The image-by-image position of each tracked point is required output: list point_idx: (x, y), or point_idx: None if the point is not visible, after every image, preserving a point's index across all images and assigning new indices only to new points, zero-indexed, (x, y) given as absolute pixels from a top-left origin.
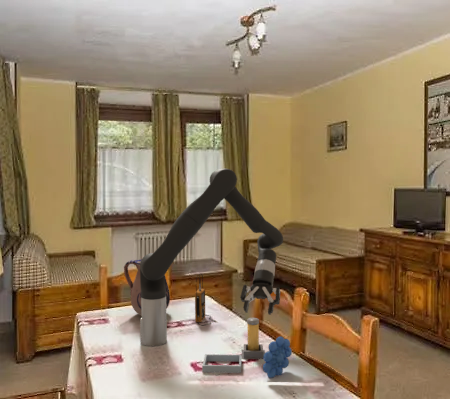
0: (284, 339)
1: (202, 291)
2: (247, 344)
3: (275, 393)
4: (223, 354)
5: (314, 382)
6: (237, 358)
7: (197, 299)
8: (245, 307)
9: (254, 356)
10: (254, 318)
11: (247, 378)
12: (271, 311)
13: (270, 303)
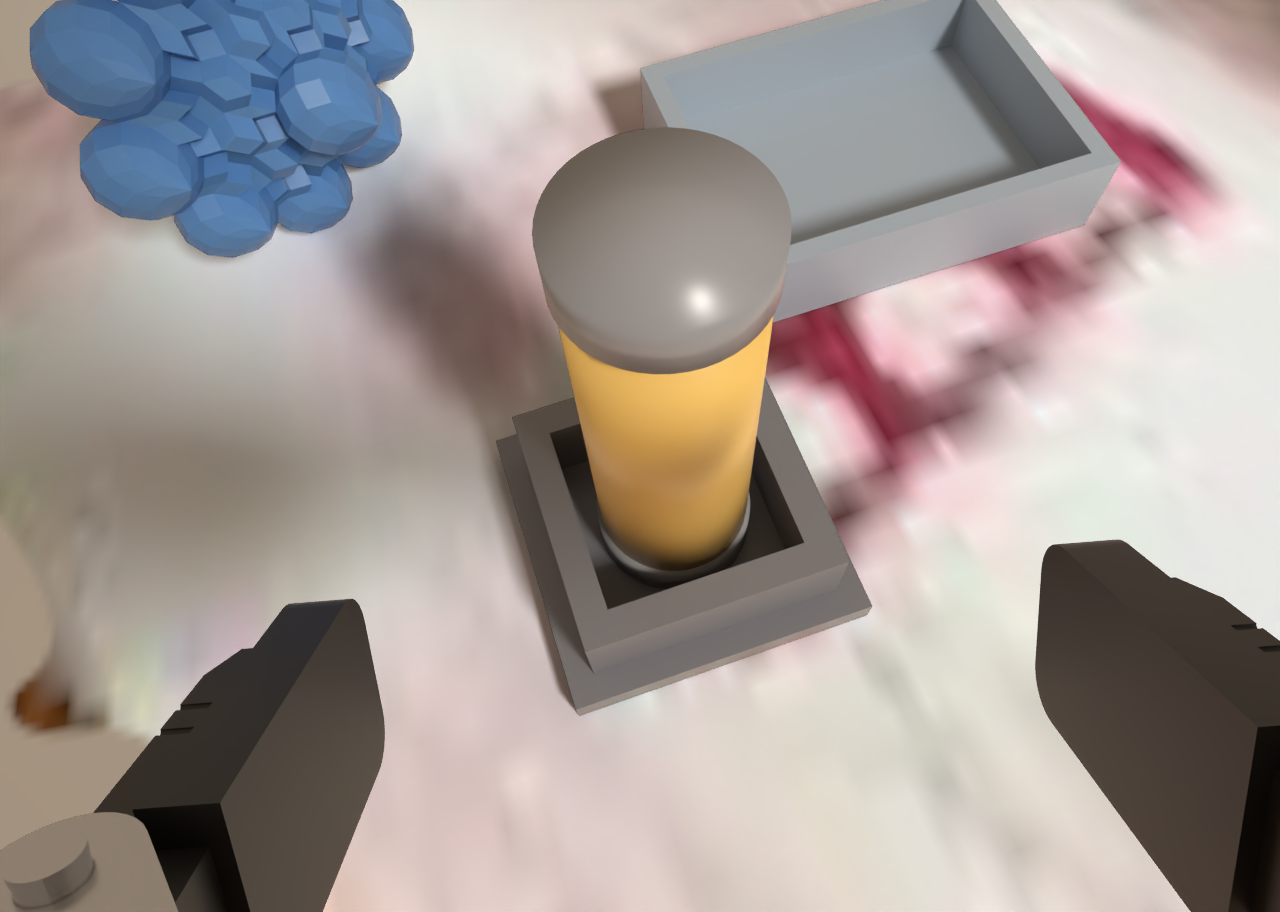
0: (80, 4)
1: None
2: (792, 566)
3: None
4: (931, 217)
5: (15, 223)
6: None
7: None
8: (1136, 566)
9: None
10: (652, 289)
11: (573, 109)
12: (246, 652)
13: (176, 778)
